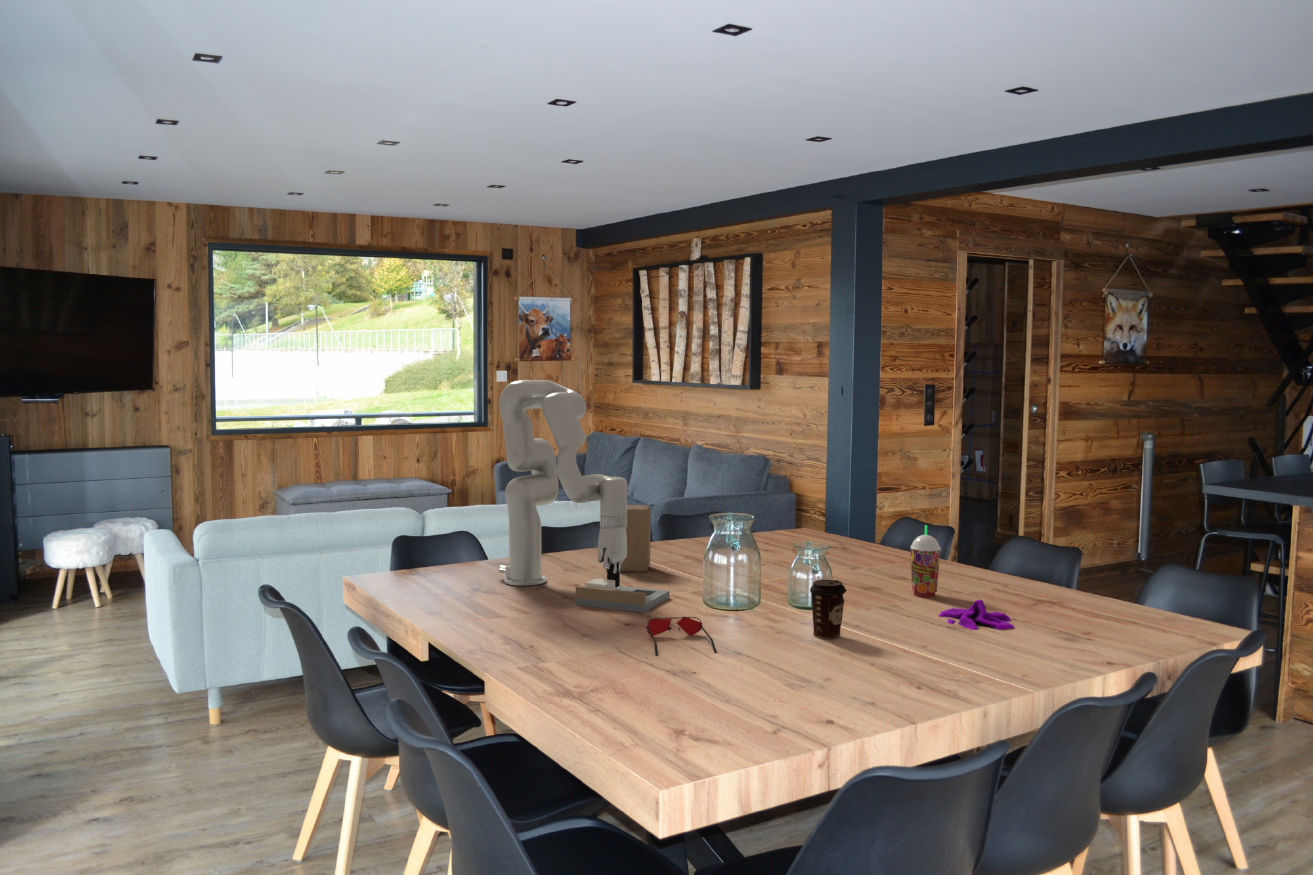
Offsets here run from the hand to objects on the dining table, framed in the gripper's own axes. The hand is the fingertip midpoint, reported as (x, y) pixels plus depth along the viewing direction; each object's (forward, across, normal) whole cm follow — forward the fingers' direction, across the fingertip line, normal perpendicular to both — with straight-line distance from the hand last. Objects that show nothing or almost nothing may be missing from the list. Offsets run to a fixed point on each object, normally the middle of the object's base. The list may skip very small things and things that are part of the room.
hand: (613, 586), depth 275 cm
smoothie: (+3, -38, +79) cm, 88 cm away
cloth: (+3, -14, +96) cm, 97 cm away
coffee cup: (+3, +15, +64) cm, 66 cm away
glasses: (+3, +36, +35) cm, 51 cm away
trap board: (+3, +4, +5) cm, 7 cm away
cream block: (+1, +9, 0) cm, 9 cm away
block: (+3, -36, -11) cm, 38 cm away
